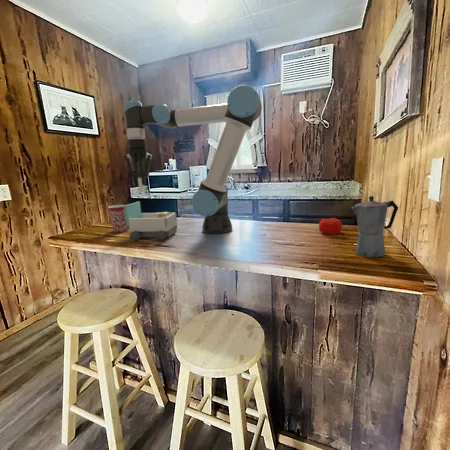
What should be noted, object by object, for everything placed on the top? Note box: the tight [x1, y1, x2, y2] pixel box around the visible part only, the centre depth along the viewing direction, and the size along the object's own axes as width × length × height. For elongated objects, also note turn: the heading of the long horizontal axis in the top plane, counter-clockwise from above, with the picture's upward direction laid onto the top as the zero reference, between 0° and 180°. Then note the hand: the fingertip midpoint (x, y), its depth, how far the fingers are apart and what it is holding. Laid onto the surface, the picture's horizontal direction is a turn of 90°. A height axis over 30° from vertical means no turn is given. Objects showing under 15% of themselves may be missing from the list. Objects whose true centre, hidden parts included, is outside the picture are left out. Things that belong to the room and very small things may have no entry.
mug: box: [107, 204, 129, 233], centre depth 137 cm, size 13×9×14 cm
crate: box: [155, 211, 169, 218], centre depth 123 cm, size 5×5×5 cm
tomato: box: [318, 217, 343, 236], centre depth 116 cm, size 10×11×6 cm
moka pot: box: [351, 195, 399, 258], centre depth 87 cm, size 10×15×20 cm, turn 95°
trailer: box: [128, 212, 178, 242], centre depth 123 cm, size 18×18×10 cm
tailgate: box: [124, 200, 142, 230], centre depth 123 cm, size 1×16×11 cm, turn 173°
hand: (142, 191), depth 120 cm, fingers closed
